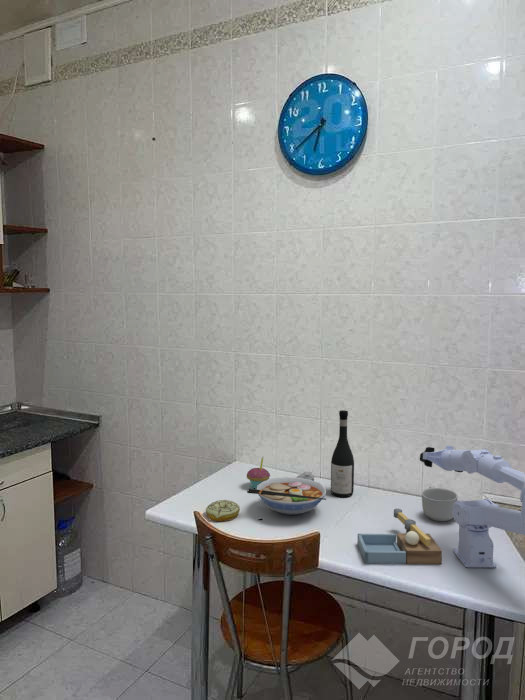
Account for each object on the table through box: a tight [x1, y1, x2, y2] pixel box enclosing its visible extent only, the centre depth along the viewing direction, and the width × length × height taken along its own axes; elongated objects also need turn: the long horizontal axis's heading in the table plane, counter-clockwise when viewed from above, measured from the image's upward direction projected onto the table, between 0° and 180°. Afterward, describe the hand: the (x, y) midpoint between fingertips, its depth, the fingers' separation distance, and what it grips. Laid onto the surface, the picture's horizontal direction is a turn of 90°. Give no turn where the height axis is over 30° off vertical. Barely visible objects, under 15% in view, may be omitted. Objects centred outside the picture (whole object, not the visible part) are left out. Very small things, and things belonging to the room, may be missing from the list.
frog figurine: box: [296, 471, 315, 481], centre depth 183 cm, size 6×7×7 cm
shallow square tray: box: [357, 533, 407, 565], centre depth 137 cm, size 11×11×3 cm
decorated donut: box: [205, 499, 241, 522], centre depth 161 cm, size 10×11×4 cm
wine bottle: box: [330, 410, 355, 498], centre depth 179 cm, size 8×8×30 cm
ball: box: [405, 531, 419, 545], centre depth 135 cm, size 4×4×4 cm
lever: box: [393, 508, 431, 546], centre depth 142 cm, size 20×3×2 cm, turn 10°
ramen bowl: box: [246, 476, 327, 516], centre depth 165 cm, size 25×23×8 cm
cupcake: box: [246, 456, 271, 489], centre depth 185 cm, size 9×8×12 cm
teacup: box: [420, 485, 459, 522], centre depth 162 cm, size 14×11×8 cm
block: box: [396, 529, 443, 565], centre depth 138 cm, size 12×9×4 cm
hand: (432, 459), depth 154 cm, fingers open, 7 cm apart
